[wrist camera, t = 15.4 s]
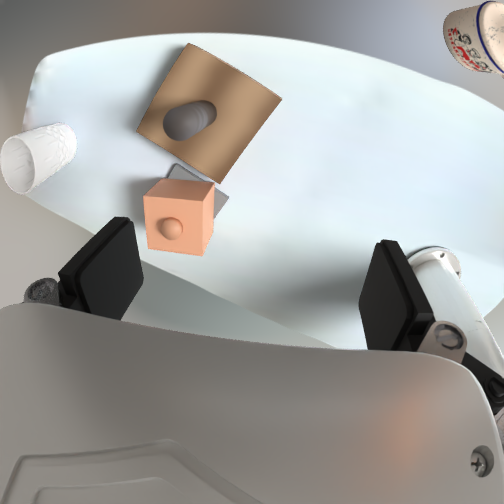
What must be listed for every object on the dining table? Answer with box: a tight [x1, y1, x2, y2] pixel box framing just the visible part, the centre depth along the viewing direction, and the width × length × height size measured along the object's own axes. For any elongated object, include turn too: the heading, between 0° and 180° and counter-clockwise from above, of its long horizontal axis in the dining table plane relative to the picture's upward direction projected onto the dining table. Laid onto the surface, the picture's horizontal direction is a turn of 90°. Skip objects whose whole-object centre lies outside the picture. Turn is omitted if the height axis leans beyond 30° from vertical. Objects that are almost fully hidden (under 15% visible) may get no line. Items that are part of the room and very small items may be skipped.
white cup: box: [0, 122, 77, 195], centre depth 30 cm, size 8×8×10 cm
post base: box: [136, 43, 282, 184], centre depth 27 cm, size 12×12×11 cm
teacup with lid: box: [443, 1, 504, 78], centre depth 17 cm, size 12×9×12 cm
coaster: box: [168, 164, 229, 220], centre depth 38 cm, size 8×8×1 cm
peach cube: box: [143, 178, 215, 256], centre depth 35 cm, size 7×7×7 cm
